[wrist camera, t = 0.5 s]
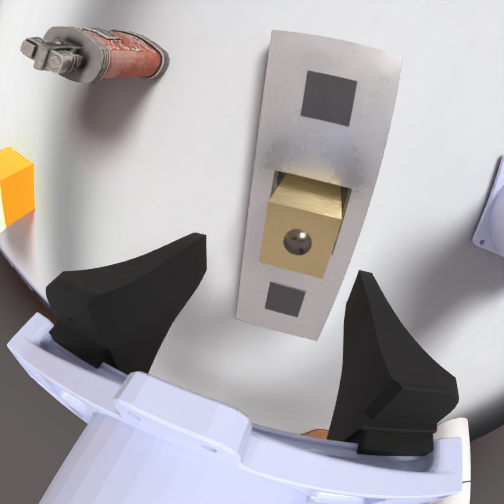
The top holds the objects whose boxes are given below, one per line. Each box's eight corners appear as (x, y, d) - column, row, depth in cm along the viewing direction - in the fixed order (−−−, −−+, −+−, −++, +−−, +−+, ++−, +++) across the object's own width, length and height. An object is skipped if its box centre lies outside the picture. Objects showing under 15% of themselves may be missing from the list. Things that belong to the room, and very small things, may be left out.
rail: (395, 61, 13) (402, 57, 11) (319, 326, 26) (316, 341, 25) (278, 36, 14) (271, 29, 13) (242, 305, 28) (235, 319, 26)
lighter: (177, 51, 16) (77, 43, 8) (157, 86, 18) (57, 100, 10) (115, 23, 16) (23, 21, 7) (100, 55, 17) (9, 64, 9)
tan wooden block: (340, 185, 19) (341, 220, 14) (328, 233, 21) (322, 279, 16) (287, 172, 20) (267, 201, 15) (278, 220, 22) (258, 262, 17)
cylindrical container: (468, 425, 30) (465, 542, 10) (435, 437, 34) (425, 551, 14) (465, 413, 29) (462, 546, 8) (428, 427, 32) (416, 555, 12)
